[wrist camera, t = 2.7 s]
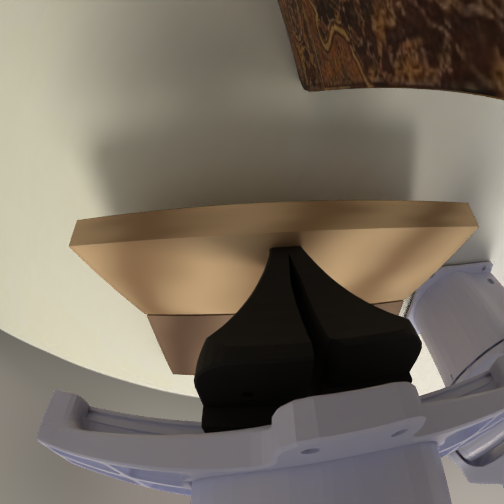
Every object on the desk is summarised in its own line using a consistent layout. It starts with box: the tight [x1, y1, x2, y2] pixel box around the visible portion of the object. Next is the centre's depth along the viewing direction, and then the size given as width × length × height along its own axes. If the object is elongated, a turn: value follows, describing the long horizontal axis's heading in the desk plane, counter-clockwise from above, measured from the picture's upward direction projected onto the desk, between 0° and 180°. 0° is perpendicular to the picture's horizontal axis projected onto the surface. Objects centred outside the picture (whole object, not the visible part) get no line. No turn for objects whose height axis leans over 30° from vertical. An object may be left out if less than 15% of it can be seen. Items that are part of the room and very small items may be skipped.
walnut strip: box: [147, 300, 403, 375], centre depth 22 cm, size 20×8×2 cm, turn 93°
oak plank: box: [69, 200, 479, 314], centre depth 15 cm, size 20×10×2 cm, turn 93°
